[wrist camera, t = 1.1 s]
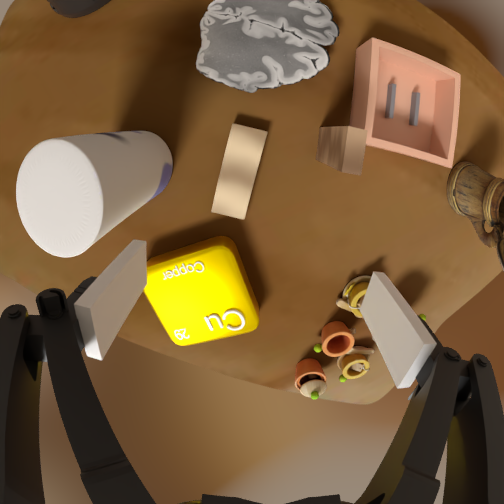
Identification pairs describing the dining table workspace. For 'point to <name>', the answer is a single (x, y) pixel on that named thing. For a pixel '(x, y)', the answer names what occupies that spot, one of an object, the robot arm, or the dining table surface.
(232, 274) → the element tile
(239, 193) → the beige wooden plank
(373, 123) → the pink open box
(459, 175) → the wooden mug
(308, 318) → the dining table surface
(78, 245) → the container
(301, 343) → the dining table surface
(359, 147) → the tall beige block
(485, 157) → the dining table surface
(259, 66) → the brain slice
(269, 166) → the dining table surface
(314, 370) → the toy tea set
